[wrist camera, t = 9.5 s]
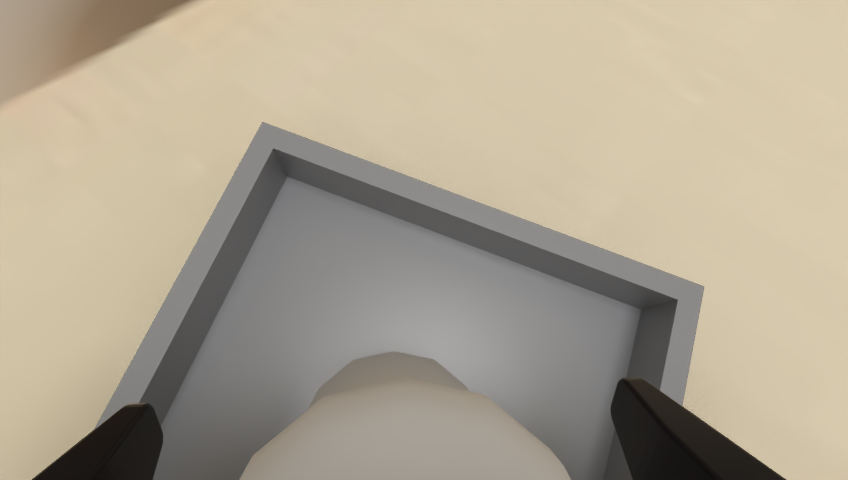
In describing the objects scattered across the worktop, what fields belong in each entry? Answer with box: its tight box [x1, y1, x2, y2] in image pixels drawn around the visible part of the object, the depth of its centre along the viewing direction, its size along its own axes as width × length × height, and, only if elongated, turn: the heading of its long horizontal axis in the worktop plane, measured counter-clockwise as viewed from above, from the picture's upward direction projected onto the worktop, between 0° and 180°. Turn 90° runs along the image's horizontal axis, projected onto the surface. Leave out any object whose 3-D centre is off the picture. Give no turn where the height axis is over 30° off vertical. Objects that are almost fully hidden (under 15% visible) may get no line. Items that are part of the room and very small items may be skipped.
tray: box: [95, 122, 704, 480], centre depth 15 cm, size 17×17×3 cm
